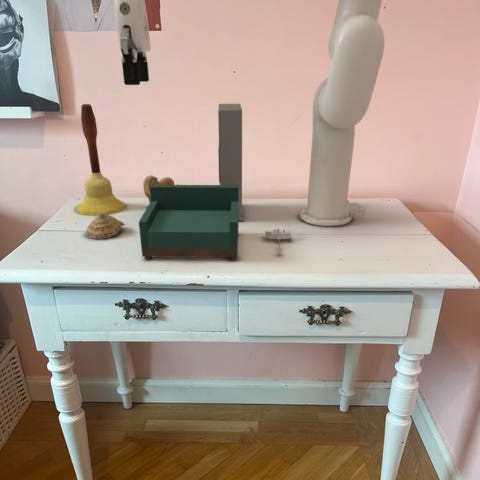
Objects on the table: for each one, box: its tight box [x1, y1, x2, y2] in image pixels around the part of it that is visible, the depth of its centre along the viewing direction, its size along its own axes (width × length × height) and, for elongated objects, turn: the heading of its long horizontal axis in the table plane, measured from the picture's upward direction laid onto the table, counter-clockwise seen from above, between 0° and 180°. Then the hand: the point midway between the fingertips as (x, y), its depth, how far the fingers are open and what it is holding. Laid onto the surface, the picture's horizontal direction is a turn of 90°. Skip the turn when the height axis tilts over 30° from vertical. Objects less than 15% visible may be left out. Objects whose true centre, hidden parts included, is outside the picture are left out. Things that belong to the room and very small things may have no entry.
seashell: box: [85, 214, 126, 240], centre depth 109 cm, size 8×6×8 cm
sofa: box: [138, 184, 240, 261], centre depth 100 cm, size 19×16×11 cm
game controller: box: [264, 227, 292, 251], centre depth 103 cm, size 6×12×3 cm, turn 16°
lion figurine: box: [142, 175, 175, 204], centre depth 126 cm, size 15×5×9 cm, turn 162°
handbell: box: [76, 103, 126, 216], centre depth 120 cm, size 12×12×25 cm
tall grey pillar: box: [217, 103, 243, 222], centre depth 116 cm, size 14×6×25 cm, turn 2°
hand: (137, 83), depth 103 cm, fingers open, 9 cm apart
